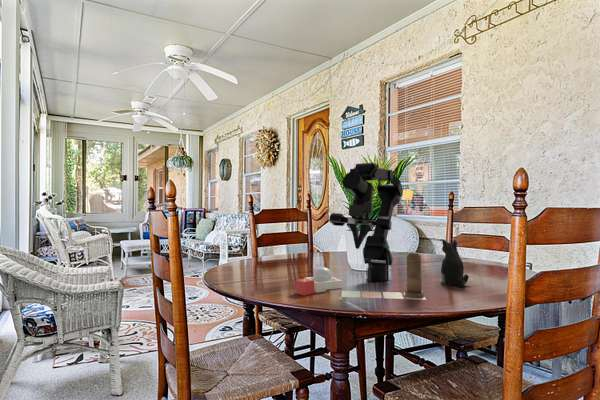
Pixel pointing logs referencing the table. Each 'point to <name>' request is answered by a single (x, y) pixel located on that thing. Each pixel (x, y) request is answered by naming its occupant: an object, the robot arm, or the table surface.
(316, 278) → the dome
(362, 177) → the robot arm
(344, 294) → the track board
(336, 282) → the base
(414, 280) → the pawn
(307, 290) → the red die
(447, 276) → the figurine
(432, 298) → the table surface
